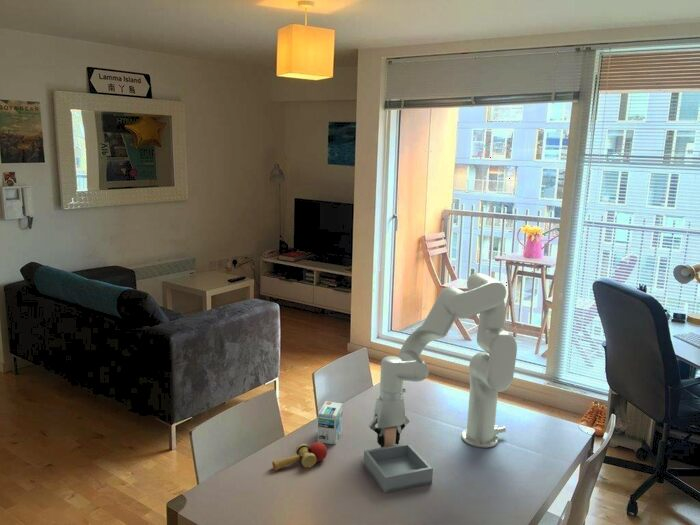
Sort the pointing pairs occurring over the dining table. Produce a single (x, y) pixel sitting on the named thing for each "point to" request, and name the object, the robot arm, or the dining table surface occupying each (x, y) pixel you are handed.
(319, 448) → the kendama
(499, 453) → the dining table surface
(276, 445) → the dining table surface
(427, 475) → the bin
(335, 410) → the light bulb box
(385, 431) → the beige rounded capsule
